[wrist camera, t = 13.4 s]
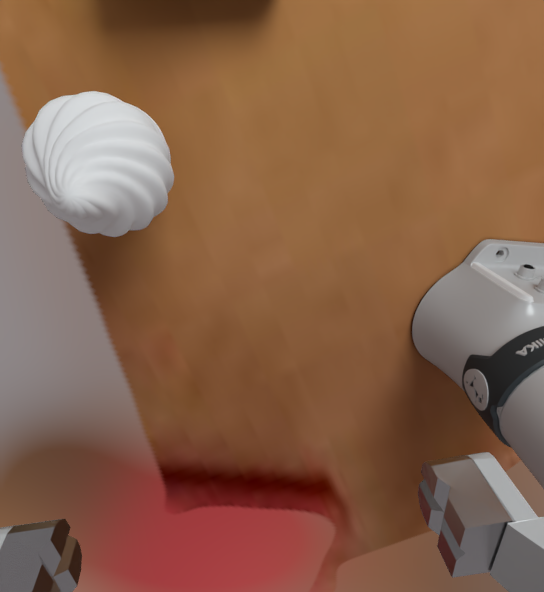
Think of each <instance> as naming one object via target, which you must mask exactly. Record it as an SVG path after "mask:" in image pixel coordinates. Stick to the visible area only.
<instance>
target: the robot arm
mask: <svg viewBox="0 0 544 592" xmlns="http://www.w3.org/2000/svg"><path fill="white" fill-rule="evenodd" d="M499 250H500V251H499ZM498 251H499V253H498V254H497V255H496V253H497V252H498ZM412 336H413V341H414V344H415V347H416V348H417V350H418V352H419V353H420V354H421V355H422V356H423V357H424V358H425V359H426V360H428V361H429V362H431V363H432V364H434V365H435V366H436V367H438V368H439V369H440V370H442V371H443V372H444V373H445V374H446V375H448V376H449V377H450V378H451V379H452V380H453V381H454V382H455V383H456V384H457V385H458V386H460V387H461V388H462V389H463V390H464V391H465V393H466V395H467V396H468V398H469V400H470V401H471V403H472V405H473V406H474V408H475V409H476V411H477V412H478V413H479V415H480V416H481V417H482V419H483V420H484V421H485V422H486V424H487V425H488V426H489V427H490V429H491V430H492V431H493V432H494V433H495V435H496V436H497V437H498V438H499V440H500V441H502V442H503V443H504V444H505V445H507V446H509V447H511V448H512V449H513V450H514V451H515V453H516V454H517V455H518V456H519V458H520V459H521V460H522V461H523V463H524V464H525V465H526V467H527V468H528V469H529V470H530V472H531V473H532V474H533V476H534V477H535V478H536V479H537V481H538V482H539V483H540V485H541V486H542V487H543V488H544V243H532V242H520V241H507V240H494V239H487V240H484V241H482V242H481V243H479V244H478V245H477V246H476V247H475V248H474V249H473V250H472V252H471V253H470V254H469V255H468V257H467V258H466V259H465V261H464V262H463V263H462V264H461V265H459V266H458V267H457V268H455V269H454V270H452V271H451V272H449V273H448V274H447V275H445V276H444V277H442V278H441V279H440V280H439V281H438V282H437V283H436V284H435V285H433V287H432V288H431V289H430V290H429V291H428V292H427V293H426V295H425V296H424V298H423V299H422V301H421V302H420V304H419V306H418V308H417V310H416V313H415V316H414V319H413V325H412ZM421 473H422V475H423V477H424V480H423V481H422V482H421V483H420V484H419V490H418V497H419V503H420V508H421V511H422V514H423V516H424V519H425V521H426V523H427V525H428V527H429V528H430V529H432V530H433V531H434V532H436V533H437V534H438V535H439V540H438V549H439V551H440V553H441V555H442V557H443V559H444V562H445V564H446V566H447V568H448V570H449V572H450V574H451V576H452V577H458V576H465V575H472V574H479V573H486V572H490V575H491V576H492V577H493V578H494V579H495V580H496V581H497V582H499V583H500V584H501V585H502V586H503V587H504V588H505V589H506V590H507V591H509V592H544V517H537V515H536V514H535V513H534V511H533V510H532V508H531V507H530V506H529V504H528V503H527V502H526V500H525V499H524V497H523V496H522V495H521V493H520V492H519V491H518V489H517V488H516V486H515V485H514V484H513V482H512V481H511V480H510V478H509V477H508V476H507V474H506V473H505V471H504V470H503V469H502V467H501V466H500V464H499V463H498V462H497V460H496V459H495V458H494V456H493V455H491V454H490V453H489V452H482V453H477V454H471V455H466V456H465V455H461V456H455V457H449V458H444V459H438V460H432V461H427V462H425V463H424V464H423V465H422V470H421ZM69 530H70V526H69V524H68V523H67V521H66V519H59V520H53V521H45V522H39V523H32V524H24V525H18V526H9V527H3V528H0V592H72V591H73V590H74V589H75V588H76V587H77V584H78V580H79V576H80V572H81V560H82V554H81V549H80V545H79V543H78V541H77V539H75V538H73V537H71V536H69V535H68V534H69Z"/></svg>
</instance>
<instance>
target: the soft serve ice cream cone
mask: <svg viewBox="0 0 544 592" xmlns="http://www.w3.org/2000/svg"><path fill="white" fill-rule="evenodd" d="M22 155H23V160H24V162H25V164H26V168H25V170H26V176H27V181H28V183H29V185H30V187H31V188H32V190H33V192H34V193H35V194H36V195H37V196H39V197H40V198H41V200H42V201H43V203H44V205H45V206H46V208H47V209H48V211H49V212H50V213H52V214H53V215H54V216H55V217H56V218H59V219H61V220H64V221H67V222H69V223H70V224H71V225H72V226H73V227H75V228H76V229H78V230H79V231H81V232H85V233H88V234H95V233H100V234H102V235H106V236H111V237H118V236H122V235H124V234H125V233H127V232H128V231H129V230H141V229H143V228H146V227H147V226H148V225H149V224H150V222H151V220H152V219H153V217H154V216H156V215H158V214H159V213H161V212H162V211H163V210H164V209H165V207H166V205H167V203H168V196H167V193H168V192H169V191H170V189H171V187H172V186H173V182H174V174H173V170H172V167H171V164H170V163H171V157H170V151H169V148H168V146H167V144H166V141H165V138H164V136H163V134H162V132H161V130H160V128H159V127H158V125H157V124H156V123H155V121H154V120H153V119H152V118H151V117H150V116H149V115H147V114H146V113H145V112H144V111H142V110H141V109H139V108H137V107H135V106H133V105H131V104H128V103H124V102H123V101H121V100H120V99H118V98H116V97H114V96H112V95H109V94H107V93H102V92H96V91H91V92H83V93H79V94H77V95H68V96H61V97H59V98H56V99H54V100H51V101H49V102H48V103H47V104H46V105H45V106H44V107H42V108H41V109H40V111H39V113H38V115H37V117H36V119H35V121H34V122H33V123H32V125H31V126H30V127H29V129H28V130H27V131H26V133H25V135H24V139H23V142H22Z"/></svg>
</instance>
